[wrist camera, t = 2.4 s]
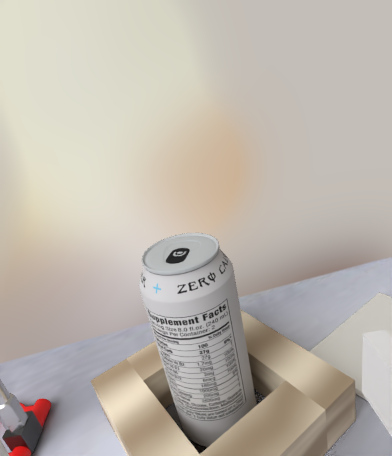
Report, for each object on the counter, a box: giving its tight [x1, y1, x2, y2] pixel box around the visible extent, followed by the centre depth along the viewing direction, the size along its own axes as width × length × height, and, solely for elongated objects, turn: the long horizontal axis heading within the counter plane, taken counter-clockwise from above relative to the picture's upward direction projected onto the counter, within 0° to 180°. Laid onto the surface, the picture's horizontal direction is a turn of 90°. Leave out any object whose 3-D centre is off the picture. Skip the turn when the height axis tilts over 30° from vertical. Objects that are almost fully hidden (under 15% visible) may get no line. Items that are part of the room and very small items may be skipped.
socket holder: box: [91, 309, 355, 456], centre depth 26 cm, size 14×14×4 cm
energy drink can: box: [139, 233, 257, 447], centre depth 24 cm, size 6×6×15 cm
